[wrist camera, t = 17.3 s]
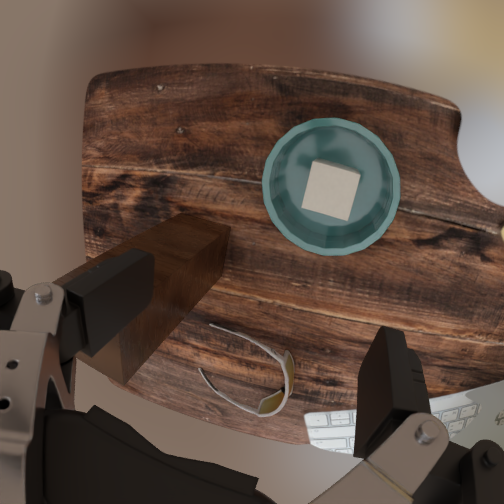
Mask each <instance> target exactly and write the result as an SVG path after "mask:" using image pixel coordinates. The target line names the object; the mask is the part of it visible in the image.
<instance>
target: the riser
mask: <svg viewBox="0 0 504 504" xmlns="http://www.w3.org/2000/svg"><path fill="white" fill-rule="evenodd" d="M229 232H230V227H228V226H225V225H221V224H218V223H214V222H211V221H207V220H204V219H200V218H197V217H193V216H190V215H186V214H183V213H180V214H178V215H176V216H174V217H172V218H170V219H168V220H166V221H164V222H162V223H160V224H158V225H156V226H154V227H152V228H150V229H148V230H146V231H144V232H142V233H140V234H138V235H137V236H135V237H133V238H131V239H129V240H127V241H125V242H123V243H121V244H119V245H118V246H116V247H114V248H112V249H110V250H108V251H106V252H105V253H103V254H101V255H99V256H97V257H95V258H94V259H92V260H90V261H88V262H86V263H85V264H83V265H81V266H79V267H78V268H76V269H74V270H72V271H71V272H69V273H67V274H65V275H64V276H62V277H60V278H58V279H57V280H55V281H53V282H52V283H54V284H57V285H59V286H62V285H64V284H65V283H67V282H68V281H70V280H72V279H73V278H75V277H77V276H78V275H80V274H82V273H83V272H85V271H88V269H90V268H92V267H95V266H96V265H97V264H99V263H100V262H102V261H104V260H106V259H109V258H113V257H117V256H120V255H121V254H123V253H125V252H127V251H128V250H130V249H132V248H137V249H140V250H143V251H146V252H149V253H152V254H153V255H154V258H155V266H154V288H153V296H152V300H151V302H150V304H149V305H148V307H147V308H146V309H145V310H144V311H142V312H141V313H140V314H139V315H138V316H137V317H136V318H135V319H134V320H132V321H131V322H130V323H129V324H128V325H127V326H126V327H125V328H124V329H123V330H121V331H120V332H119V333H118V334H117V335H116V336H115V337H114V338H113V339H112V340H110V341H109V342H108V343H107V344H106V345H105V346H104V347H103V348H102V349H101V350H100V351H99V352H97V353H96V354H95V355H94V356H93V357H92V358H91V357H89V356H88V355H86V354H84V353H83V352H81V351H79V352H78V353H77V354H75V356H76V358H78V359H79V360H81V361H82V362H84V363H86V364H87V365H89V366H91V367H92V368H94V369H96V370H97V371H99V372H101V373H102V374H104V375H106V376H108V377H109V378H111V379H113V380H115V381H117V382H118V383H120V384H122V385H125V384H126V383H127V382H128V381H129V380H130V378H131V377H132V376H133V375H134V374H135V373H136V372H137V370H138V369H139V368H140V367H141V366H142V365H143V364H144V363H145V361H146V360H147V359H148V358H149V357H150V356H151V355H152V354H153V352H154V351H155V350H156V349H157V348H158V347H159V346H160V345H161V343H162V342H163V341H164V340H165V339H166V338H167V337H168V336H169V334H170V333H171V332H172V331H173V330H174V329H175V328H176V327H177V325H178V324H179V323H180V322H181V321H182V320H183V319H184V318H185V316H186V315H187V314H188V313H189V312H190V311H191V310H192V309H193V308H194V306H195V305H196V304H197V303H198V302H199V301H200V300H201V299H202V297H203V296H204V295H205V294H206V293H207V292H208V291H209V290H210V289H211V287H212V286H213V285H214V284H215V283H216V282H217V281H218V280H219V279H220V277H221V276H222V271H223V266H224V260H225V254H226V249H227V243H228V238H229Z"/></svg>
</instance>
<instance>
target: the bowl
mask: <svg viewBox="0 0 504 504" xmlns="http://www.w3.org/2000/svg"><path fill="white" fill-rule="evenodd" d="M317 158H320V159H324V160H328V161H331V162H335V163H338V164H342V165H345V166H349V167H352V168H355V169H358V171H359V173H360V175H361V176H360V179H359V183H358V187H357V190H356V194H355V198H354V201H353V205H352V208H351V212H350V215H349V218H348V221H345V220H342V219H339V218H335V217H332V216H329V215H325V214H322V213H318V212H315V211H311V210H308V209H304V208H301V207H302V203H303V199H304V195H305V191H306V187H307V182H308V178H309V174H310V170H311V166H312V162H313V161H314V160H315V159H317ZM262 190H263V200H264V204H265V206H266V209H267V211H268V213H269V216H270V218H271V220H272V222H273V223H274V224H275V226H276V227H277V228H278V229H279V230H280V232H281V233H282V234H283V235H284V236H285V237H286V238H287V239H288V240H290V241H291V242H293V243H294V244H296V245H297V246H299V247H300V248H302V249H303V250H306V251H310V252H313V253H316V254H320V255H324V256H344V255H348V254H351V253H354V252H357V251H360V250H363V249H365V248H367V247H368V246H369V245H371V244H372V243H374V242H375V241H376V240H378V239H379V238H381V236H382V235H383V234H384V233H385V231H386V230H387V228H388V227H389V226H390V224H391V223H392V222H393V220H394V218H395V215H396V211H397V208H398V205H399V202H400V175H399V172H398V169H397V166H396V163H395V161H394V158H393V156H392V154H391V152H390V151H389V150H388V148H387V147H386V146H385V145H384V143H383V142H382V141H381V139H380V138H379V137H378V136H377V135H375V134H374V133H372V132H371V131H369V130H368V129H366V128H365V127H363V126H362V125H360V124H358V123H355V122H351V121H348V120H344V119H340V118H318V119H312V120H310V121H307V122H305V123H302V124H300V125H297V126H295V127H294V128H292V129H291V130H290V131H288V132H287V133H286V134H285V135H284V136H283V137H281V138H280V139H279V140H278V141H277V142H276V144H275V146H274V147H273V149H272V151H271V152H270V154H269V156H268V158H267V160H266V162H265V167H264V172H263V176H262Z"/></svg>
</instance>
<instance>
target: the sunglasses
mask: <svg viewBox="0 0 504 504" xmlns="http://www.w3.org/2000/svg"><path fill="white" fill-rule="evenodd" d="M209 325H210V326H213V327H216V328H219V329H222V330H225V331H228V332H230V333H233V334H235V335H238V336H240V337H243V338H246V339H248V340H249V341H251V342H253V343H255V344H257V345H258V346H260V347H261V348H262V349H264V350H265V351H266V352H268V353H269V354H270V355H271V356H273V357H274V358H275V359H276V360H277V361H278V362H280V363H281V367H282V370H283V372H284V376H285V387H282V388H281V390H280V391H278V392H276V393H274V394H272V395H270V396H268V397H266V398H263V399H262V400H261V402H260V404H259V407H258V409H255V408H252V407H250V406H248V405H243V404H240V403H237V402H235V401H234V400H232V399H231V398H229V397H228V396H227V395H226V394H224V393H222V392H221V391H219V390H218V389H217V388H216V387H215V386H214V385H213V384H212V383H211V382H210V380H209V379H208V377H207V376H206V374H205V373H204V371H203V370H202V369H201V368H198V369H199V371H200V373H201V374H202V376H203V378H204V379H205V381H206V382H207V383H208V385H209V386H210V387H211V388H212V389H213V390H214V391H215V392H216V393H217V394H219V395H220V396H222V397H223V398H225V399H226V400H228V401H229V402H231V403H233V404H234V405H236V406H238V407H239V408H241V409H243V410H246V411H248V412H250V413H253V414H255V415H257V416H259V417H265V416H272V415H274V414H276V413H277V412H279V411H280V410H281V409H282V408H283V407H284V405H285V404H286V401H287V399H288V397H289V396H290V395H291V393H292V390H293V384H294V372H295V369H294V361H293V358H292V355H291V354H290V352H289V351H288V350H285V352H284V355H283V356H282V355H280V354H279V353H278V352H277V351H275V350H274V349H273V348H270V347H268V346H266V345H264V344H262V343H260V342H259V341H257V340H255V339H253V338H252V337H250V336H248V335H247V334H244V333H241V332H238V331H235V330H233V329H230V328H227V327H224V326H221V325H218V324H209Z"/></svg>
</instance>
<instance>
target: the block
mask: <svg viewBox="0 0 504 504" xmlns="http://www.w3.org/2000/svg"><path fill="white" fill-rule="evenodd" d="M360 176H361V175H360V173H359V171H358V169H355V168H352V167H349V166H345V165H342V164H338V163H335V162H331V161H328V160H324V159H320V158H317V159H315V160H314V161H313V162H312V166H311V170H310V174H309V178H308V182H307V187H306V191H305V195H304V199H303V203H302V207H301V208H304V209H308V210H311V211H315V212H318V213H322V214H325V215H329V216H332V217H335V218H339V219H342V220H345V221H348V218H349V215H350V212H351V208H352V205H353V201H354V198H355V194H356V190H357V187H358V183H359V179H360Z"/></svg>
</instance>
